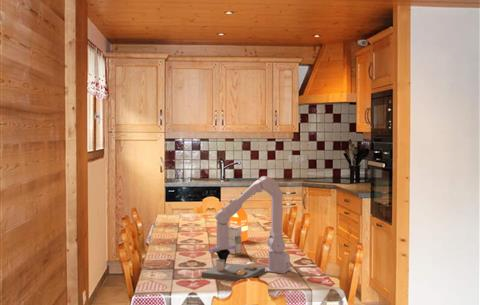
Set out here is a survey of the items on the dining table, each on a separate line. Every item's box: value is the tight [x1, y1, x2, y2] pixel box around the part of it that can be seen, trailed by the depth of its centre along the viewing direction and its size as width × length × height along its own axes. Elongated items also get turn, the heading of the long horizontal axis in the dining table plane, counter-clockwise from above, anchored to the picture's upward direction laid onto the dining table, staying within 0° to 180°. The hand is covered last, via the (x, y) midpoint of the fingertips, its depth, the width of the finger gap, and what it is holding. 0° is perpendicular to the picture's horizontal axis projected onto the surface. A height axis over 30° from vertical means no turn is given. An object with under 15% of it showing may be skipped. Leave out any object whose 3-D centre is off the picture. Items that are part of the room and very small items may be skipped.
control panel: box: [201, 262, 266, 282], centre depth 253 cm, size 22×20×2 cm
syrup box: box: [228, 225, 243, 255], centre depth 296 cm, size 6×6×14 cm
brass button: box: [236, 270, 245, 276], centre depth 246 cm, size 4×4×3 cm
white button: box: [245, 261, 256, 270], centre depth 255 cm, size 4×4×3 cm
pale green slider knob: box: [215, 258, 225, 271], centre depth 252 cm, size 3×2×5 cm, turn 63°
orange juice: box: [229, 206, 249, 242], centre depth 331 cm, size 8×9×20 cm
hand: (223, 266), depth 254 cm, fingers closed
